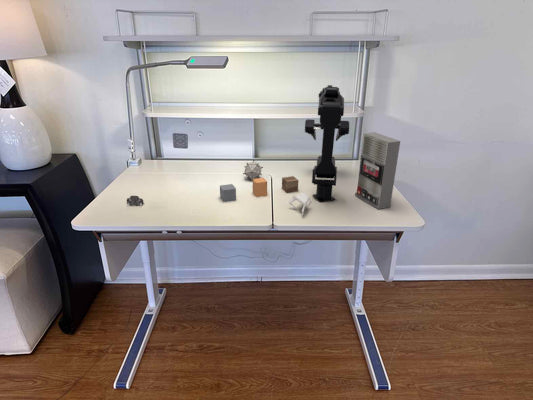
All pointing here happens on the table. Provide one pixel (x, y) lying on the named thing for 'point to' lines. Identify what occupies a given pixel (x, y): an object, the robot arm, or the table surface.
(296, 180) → the walnut block
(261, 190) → the rust orange block
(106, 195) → the table surface
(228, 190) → the charcoal grey block
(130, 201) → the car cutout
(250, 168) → the grey spiky ball
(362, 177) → the cassette tape recorder
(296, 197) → the origami figure
